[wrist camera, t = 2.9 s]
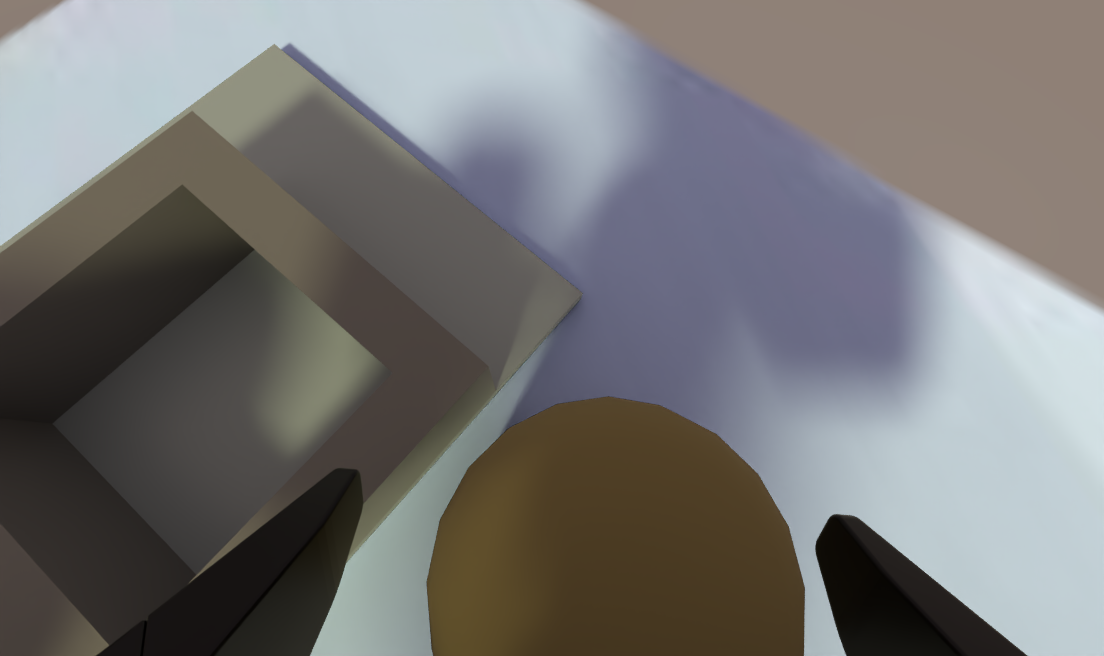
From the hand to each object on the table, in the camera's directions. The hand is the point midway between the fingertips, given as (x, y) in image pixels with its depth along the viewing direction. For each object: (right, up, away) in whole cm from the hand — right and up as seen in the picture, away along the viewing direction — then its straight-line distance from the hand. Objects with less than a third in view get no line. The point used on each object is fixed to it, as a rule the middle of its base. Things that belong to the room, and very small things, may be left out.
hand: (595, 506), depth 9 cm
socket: (-11, +4, +8) cm, 14 cm away
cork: (-1, -3, +7) cm, 7 cm away
